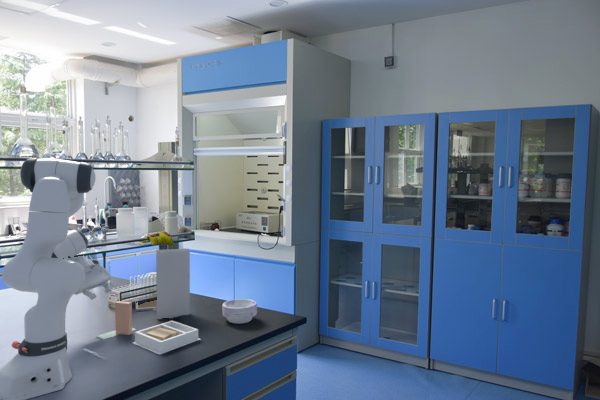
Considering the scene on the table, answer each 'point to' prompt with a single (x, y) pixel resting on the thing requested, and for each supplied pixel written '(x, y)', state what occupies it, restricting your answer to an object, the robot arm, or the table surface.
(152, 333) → the offcut upper
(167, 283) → the brochure
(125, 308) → the terracotta board
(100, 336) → the sage mat
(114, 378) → the table surface
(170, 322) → the white divided tray
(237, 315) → the paper bowls
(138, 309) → the clipboard
